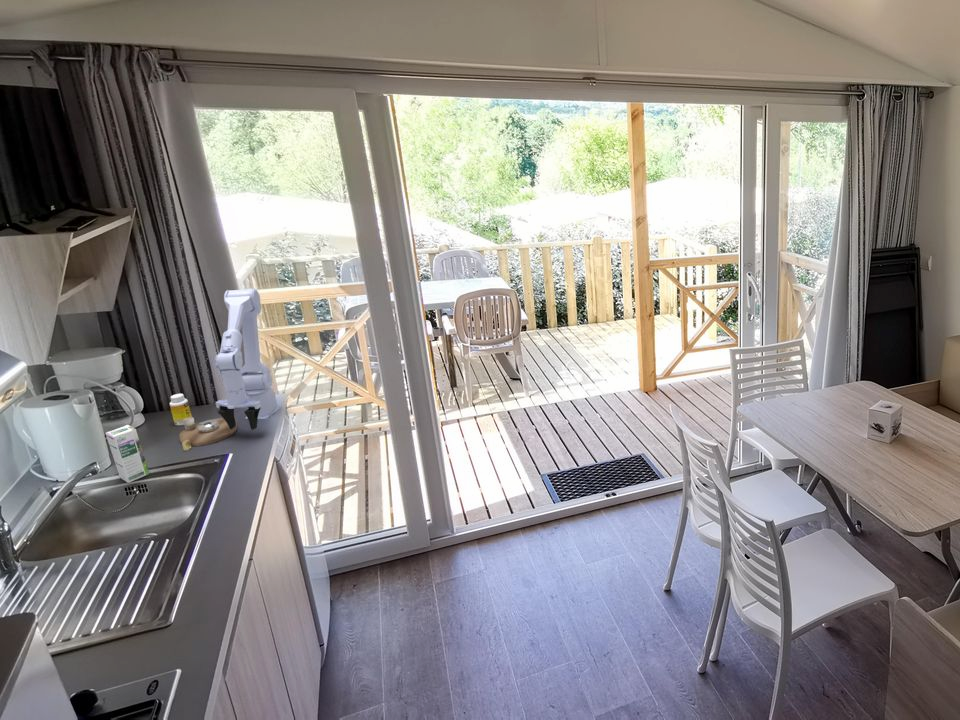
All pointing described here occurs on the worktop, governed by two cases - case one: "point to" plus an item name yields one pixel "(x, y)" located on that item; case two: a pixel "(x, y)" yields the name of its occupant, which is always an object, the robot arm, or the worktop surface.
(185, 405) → the supplement bottle
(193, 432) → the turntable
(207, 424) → the metal cover
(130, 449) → the syrup box
